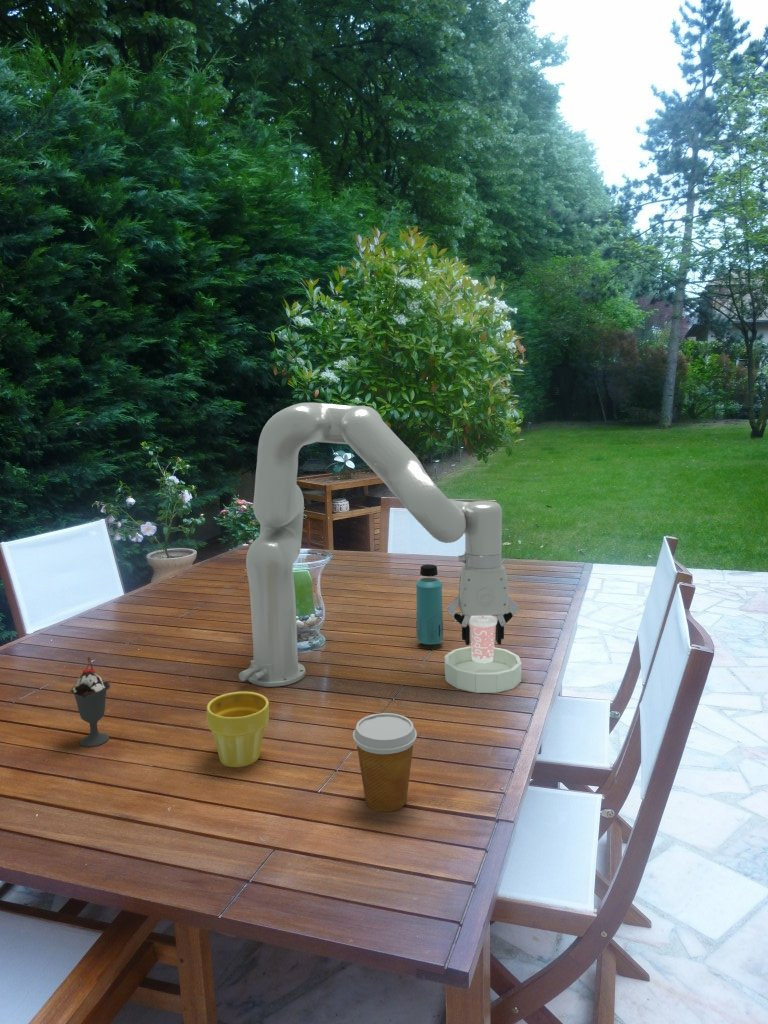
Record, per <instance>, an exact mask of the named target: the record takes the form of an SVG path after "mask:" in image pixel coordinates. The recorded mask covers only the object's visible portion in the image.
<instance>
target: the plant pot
mask: <svg viewBox="0 0 768 1024" xmlns="http://www.w3.org/2000/svg"><path fill="white" fill-rule="evenodd" d="M269 720H270V703H269V699H268V698H267V697H266V696H264V695H263V694H261V693H258V692H253V691H235V692H227V693H224V694H221V695H218V696H216V697H214V698H213V699H211V700H210V701H209V702H208V703H207V705H206V724H207V727H208V730H210V731H211V732H212V735H213V736H212V737H213V739H214V743H215V747H216V749H217V750H216V751H217V753H218V754H217V755H218V758H219V761H220V762H221V764H222V765H223V766H227V767H229V768H230V767H231V768H242V767H247V766H249V765H253V764H254V763H256V762H257V761H258V760H259V758H260V756H261V749H262V743H263V740H264V739H263V737H264V733H265V727H266V726H267V725H268V723H269Z"/></svg>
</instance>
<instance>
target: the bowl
mask: <svg viewBox="0 0 768 1024" xmlns="http://www.w3.org/2000/svg"><path fill="white" fill-rule="evenodd" d="M522 664H523V663H522V660H521V658H520V656H519V655H518V654H515V653H514V652H512V651H510V650H508V649H505V648H499V647H495V646H494V656H493V661H492V662H489V663H478V662H475V661H473V660H472V653H471V645H468V646H465V647H460V648H455V649H453V650H451V651H450V652H448V653H447V654H445V655H444V678H445V679H444V680H445V682H446V683H448V684H449V685H451V686H452V687H454V688H455V689H458V690H461V691H462V690H463V691H466V692H470V693H476V694H477V693H478V694H480V693H481V694H482V693H483V694H491V693H493V694H497V693H501V692H506V691H509V690H514V689H515V688H516V687H517V686H518V685H519V684H520V683H521V682H522Z"/></svg>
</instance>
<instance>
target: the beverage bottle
mask: <svg viewBox="0 0 768 1024" xmlns="http://www.w3.org/2000/svg"><path fill="white" fill-rule="evenodd" d="M419 575H420V576H422V577H423V578H421V579H419V580H418V581H417V582H416V584H415V586H416V587H415V588H416V589H415V591H416V605H415V606H416V607H415V608H416V612H415V615H416V625H415V627H416V634H415V635H416V639H417V642H419V644H423V645H437V644H440V643H442V642H443V639H444V620H443V619H444V616H443V615H444V613H443V601H444V600H443V583H442V581H441V580H439V579H438V578H435V576H437V575H438V567H437V565H436V564H423V565H421V566H420V572H419Z"/></svg>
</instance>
